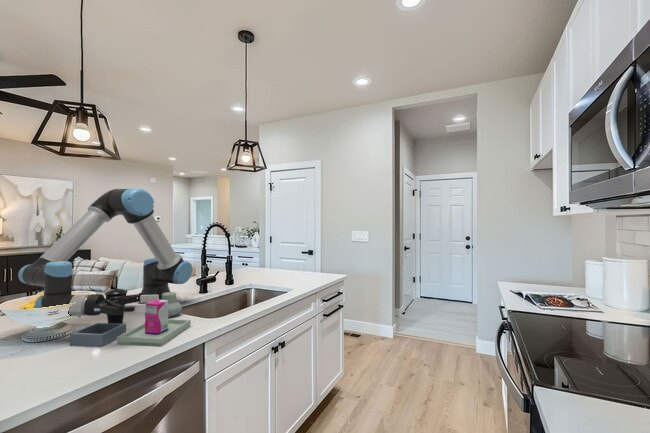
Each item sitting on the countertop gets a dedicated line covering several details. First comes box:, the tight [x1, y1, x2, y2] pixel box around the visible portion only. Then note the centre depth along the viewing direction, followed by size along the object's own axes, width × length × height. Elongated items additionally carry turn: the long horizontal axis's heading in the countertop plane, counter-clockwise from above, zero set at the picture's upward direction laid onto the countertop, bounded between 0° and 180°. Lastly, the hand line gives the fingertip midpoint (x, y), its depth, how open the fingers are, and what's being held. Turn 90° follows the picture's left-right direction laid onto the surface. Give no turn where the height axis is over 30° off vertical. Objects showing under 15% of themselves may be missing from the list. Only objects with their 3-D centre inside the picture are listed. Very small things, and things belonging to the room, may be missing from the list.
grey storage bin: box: [69, 322, 127, 348], centre depth 110 cm, size 12×12×4 cm
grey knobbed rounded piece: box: [162, 291, 183, 318], centre depth 138 cm, size 11×8×10 cm
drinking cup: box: [104, 275, 128, 324], centre depth 124 cm, size 8×8×20 cm
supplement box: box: [144, 300, 169, 335], centre depth 116 cm, size 6×6×12 cm
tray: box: [116, 318, 192, 347], centre depth 116 cm, size 20×16×2 cm
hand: (152, 302), depth 115 cm, fingers open, 13 cm apart
